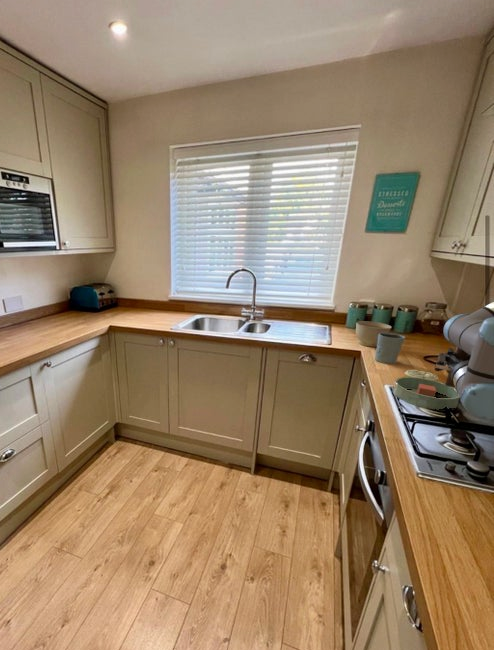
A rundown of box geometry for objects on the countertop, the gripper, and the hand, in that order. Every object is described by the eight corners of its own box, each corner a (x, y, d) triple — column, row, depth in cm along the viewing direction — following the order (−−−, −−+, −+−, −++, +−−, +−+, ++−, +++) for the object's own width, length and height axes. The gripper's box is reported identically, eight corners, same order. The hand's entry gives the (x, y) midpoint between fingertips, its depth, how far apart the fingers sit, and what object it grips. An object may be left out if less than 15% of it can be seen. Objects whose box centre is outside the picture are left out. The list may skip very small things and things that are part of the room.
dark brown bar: (457, 384, 94) (475, 333, 89) (459, 388, 92) (477, 336, 86) (444, 382, 96) (460, 332, 90) (445, 386, 93) (462, 334, 88)
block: (431, 398, 112) (434, 386, 111) (432, 403, 109) (436, 391, 107) (415, 395, 114) (419, 383, 113) (416, 399, 111) (420, 387, 109)
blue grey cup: (369, 360, 151) (375, 334, 146) (376, 355, 158) (382, 331, 153) (394, 366, 144) (401, 339, 140) (400, 360, 151) (407, 335, 147)
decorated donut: (417, 375, 134) (420, 367, 132) (443, 386, 124) (446, 377, 123) (397, 378, 131) (399, 369, 129) (422, 388, 121) (425, 379, 120)
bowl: (452, 395, 116) (456, 384, 114) (460, 417, 101) (465, 404, 100) (392, 384, 125) (395, 373, 123) (392, 402, 110) (395, 390, 108)
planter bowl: (386, 350, 165) (391, 329, 161) (350, 345, 173) (354, 325, 169) (386, 343, 178) (391, 323, 174) (354, 338, 186) (358, 319, 182)
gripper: (426, 386, 82) (420, 360, 100) (514, 402, 74) (489, 371, 93) (435, 358, 79) (427, 336, 98) (527, 371, 71) (498, 345, 90)
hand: (457, 353), depth 95 cm, fingers closed on dark brown bar, 3 cm apart
